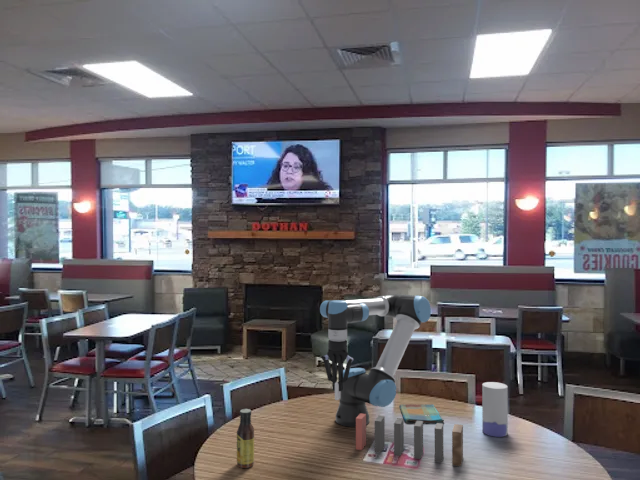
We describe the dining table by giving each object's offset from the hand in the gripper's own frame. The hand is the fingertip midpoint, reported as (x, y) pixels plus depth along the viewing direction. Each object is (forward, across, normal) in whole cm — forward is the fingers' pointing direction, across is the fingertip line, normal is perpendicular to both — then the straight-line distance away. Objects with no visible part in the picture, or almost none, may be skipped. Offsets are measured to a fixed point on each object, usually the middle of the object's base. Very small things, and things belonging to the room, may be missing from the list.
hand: (337, 398), depth 201 cm
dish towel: (+18, +25, +45) cm, 55 cm away
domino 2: (+18, +25, 0) cm, 30 cm away
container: (+18, +58, +34) cm, 70 cm away
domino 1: (+18, +17, 0) cm, 25 cm away
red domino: (+18, +10, 0) cm, 20 cm away
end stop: (+18, +46, 0) cm, 50 cm away
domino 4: (+18, +40, 0) cm, 43 cm away
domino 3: (+18, +32, 0) cm, 37 cm away
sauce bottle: (+18, -24, -30) cm, 43 cm away
